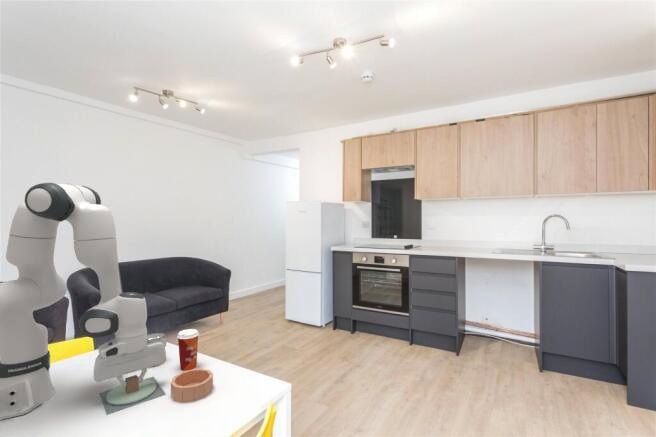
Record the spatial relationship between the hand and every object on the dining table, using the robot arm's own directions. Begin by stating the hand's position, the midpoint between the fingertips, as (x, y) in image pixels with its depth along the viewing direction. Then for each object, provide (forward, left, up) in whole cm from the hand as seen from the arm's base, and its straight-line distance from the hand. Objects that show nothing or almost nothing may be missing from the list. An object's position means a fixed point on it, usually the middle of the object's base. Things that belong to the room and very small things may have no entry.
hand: (132, 384), depth 105 cm
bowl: (+15, -12, -3) cm, 20 cm away
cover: (0, 0, -3) cm, 3 cm away
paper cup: (+20, +7, -4) cm, 21 cm away
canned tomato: (+11, +20, -4) cm, 23 cm away
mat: (0, 0, -3) cm, 3 cm away
